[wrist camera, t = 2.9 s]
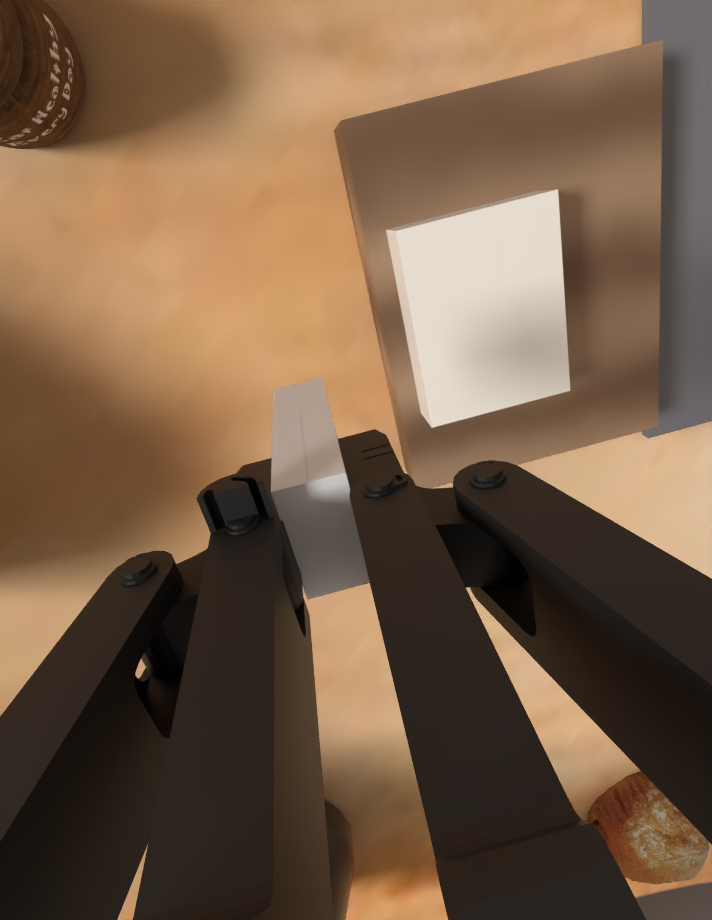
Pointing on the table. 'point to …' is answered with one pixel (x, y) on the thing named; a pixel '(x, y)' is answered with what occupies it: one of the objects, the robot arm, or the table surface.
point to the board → (582, 238)
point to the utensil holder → (37, 75)
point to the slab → (484, 306)
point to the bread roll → (648, 832)
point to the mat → (684, 211)
